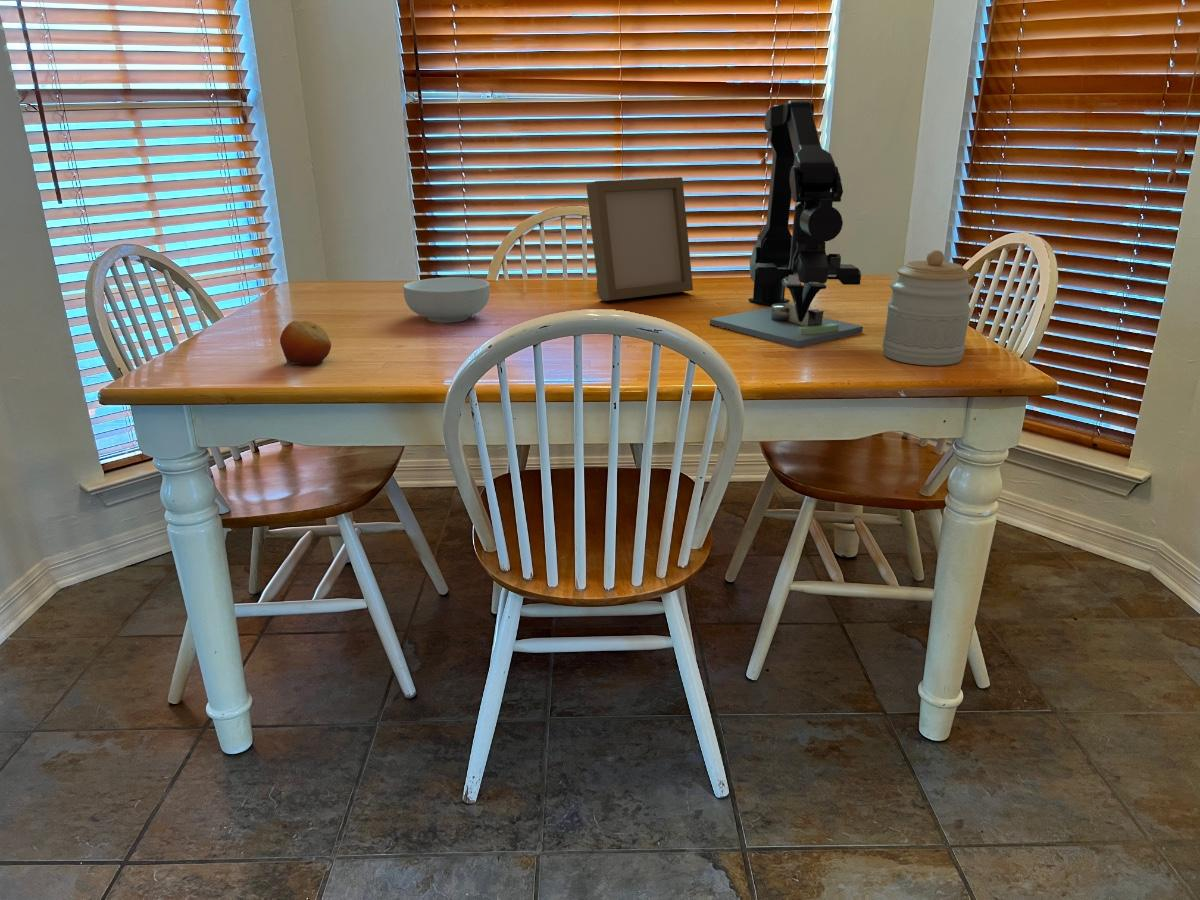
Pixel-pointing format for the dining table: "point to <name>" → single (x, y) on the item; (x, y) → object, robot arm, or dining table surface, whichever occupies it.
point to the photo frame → (639, 237)
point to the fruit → (304, 343)
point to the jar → (928, 312)
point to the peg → (789, 314)
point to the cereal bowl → (447, 298)
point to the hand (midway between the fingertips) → (800, 321)
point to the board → (785, 328)
